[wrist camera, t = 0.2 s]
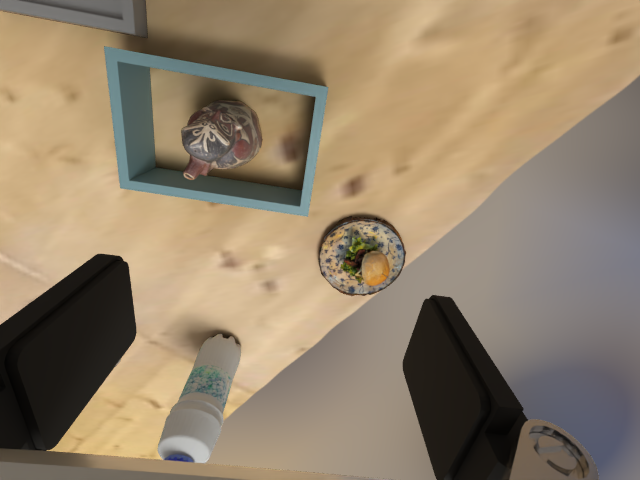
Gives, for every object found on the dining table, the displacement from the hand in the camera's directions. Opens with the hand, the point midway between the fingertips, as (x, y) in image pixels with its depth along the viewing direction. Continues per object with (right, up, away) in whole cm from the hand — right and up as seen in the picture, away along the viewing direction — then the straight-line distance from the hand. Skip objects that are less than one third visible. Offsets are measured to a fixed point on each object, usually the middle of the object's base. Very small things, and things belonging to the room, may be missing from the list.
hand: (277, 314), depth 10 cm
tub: (-9, +15, +27) cm, 32 cm away
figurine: (-9, +15, +27) cm, 32 cm away
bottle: (-14, -14, +41) cm, 46 cm away
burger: (+7, 0, +34) cm, 35 cm away
